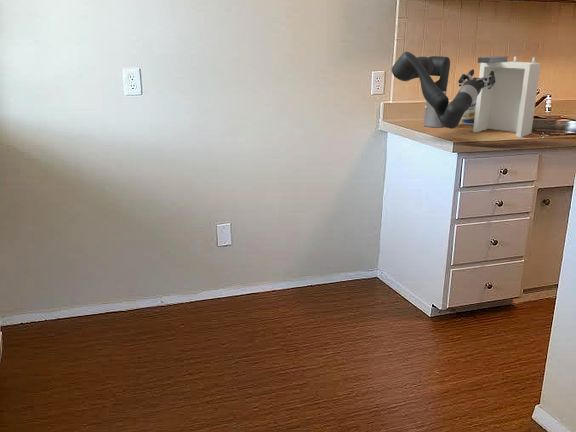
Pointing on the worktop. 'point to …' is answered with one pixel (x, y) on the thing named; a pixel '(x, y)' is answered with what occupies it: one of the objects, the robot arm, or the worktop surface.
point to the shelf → (508, 97)
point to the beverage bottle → (469, 114)
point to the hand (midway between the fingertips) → (483, 71)
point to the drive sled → (492, 59)
